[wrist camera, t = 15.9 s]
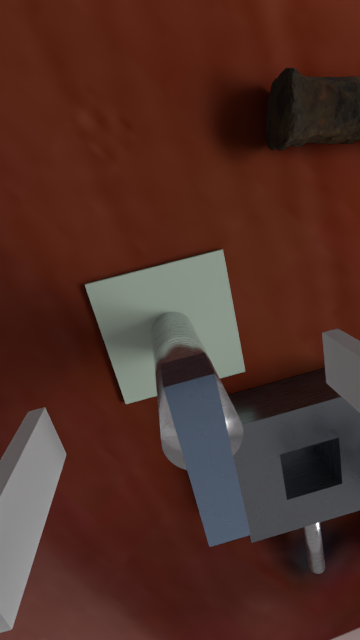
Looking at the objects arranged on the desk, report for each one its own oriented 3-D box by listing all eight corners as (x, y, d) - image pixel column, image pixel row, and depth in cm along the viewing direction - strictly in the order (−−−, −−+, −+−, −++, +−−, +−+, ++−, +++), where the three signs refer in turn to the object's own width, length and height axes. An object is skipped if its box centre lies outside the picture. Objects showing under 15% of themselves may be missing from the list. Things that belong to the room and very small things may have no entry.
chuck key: (139, 293, 22) (137, 394, 9) (182, 282, 22) (240, 366, 9) (163, 377, 24) (188, 553, 11) (202, 366, 24) (270, 528, 12)
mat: (85, 283, 22) (84, 284, 21) (221, 249, 22) (222, 249, 22) (125, 401, 25) (125, 404, 25) (243, 369, 25) (245, 371, 25)
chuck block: (213, 399, 26) (226, 429, 22) (347, 361, 26) (382, 385, 23) (249, 556, 32) (264, 601, 29) (356, 524, 33) (385, 563, 29)
